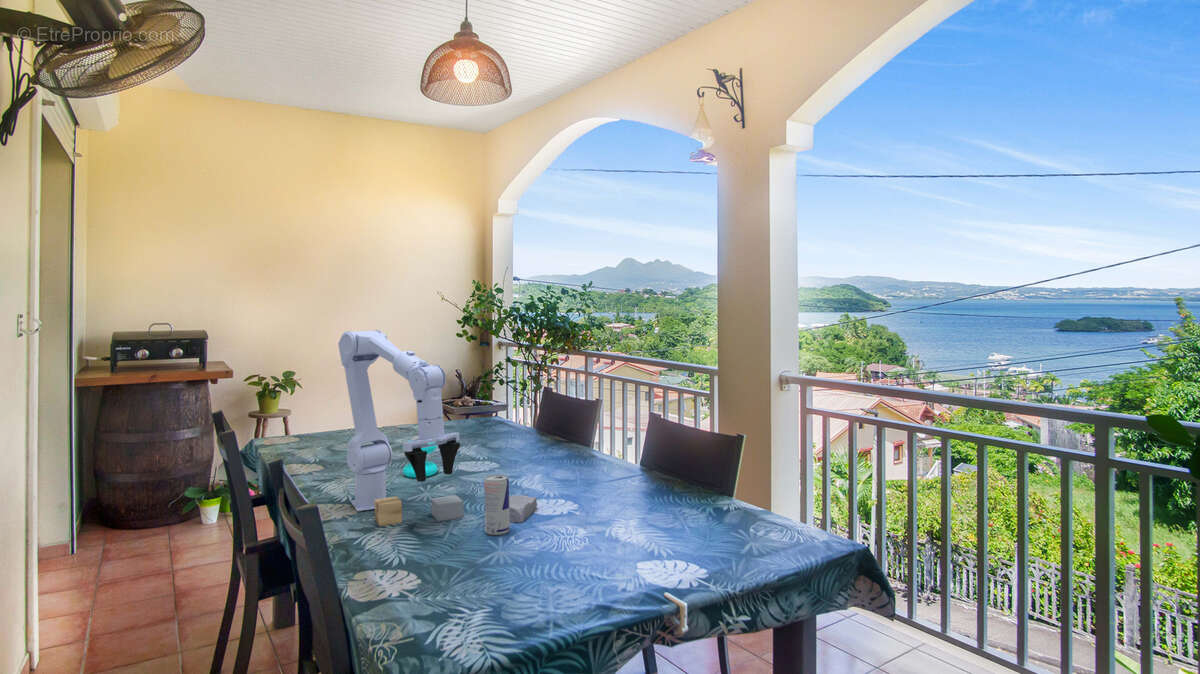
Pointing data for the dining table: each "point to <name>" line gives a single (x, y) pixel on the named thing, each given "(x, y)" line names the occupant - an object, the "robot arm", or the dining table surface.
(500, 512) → the energy drink
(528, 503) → the stone block
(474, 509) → the dining table surface
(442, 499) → the grey block
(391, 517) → the wooden cube
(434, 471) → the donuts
